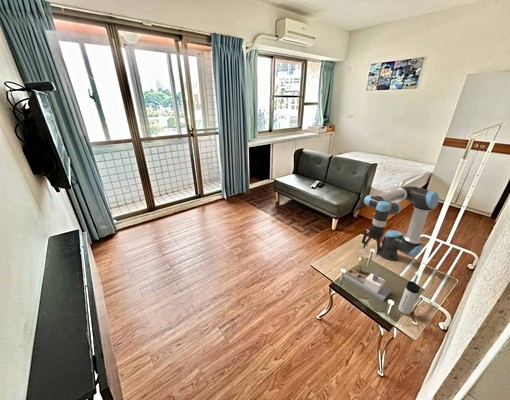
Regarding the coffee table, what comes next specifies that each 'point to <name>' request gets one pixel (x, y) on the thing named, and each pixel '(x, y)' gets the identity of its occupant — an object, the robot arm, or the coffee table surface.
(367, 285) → the cover
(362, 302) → the coffee table surface
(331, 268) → the coffee table surface
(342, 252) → the coffee table surface
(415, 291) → the travel mug
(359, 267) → the brass pin
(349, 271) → the board
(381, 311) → the coffee table surface
